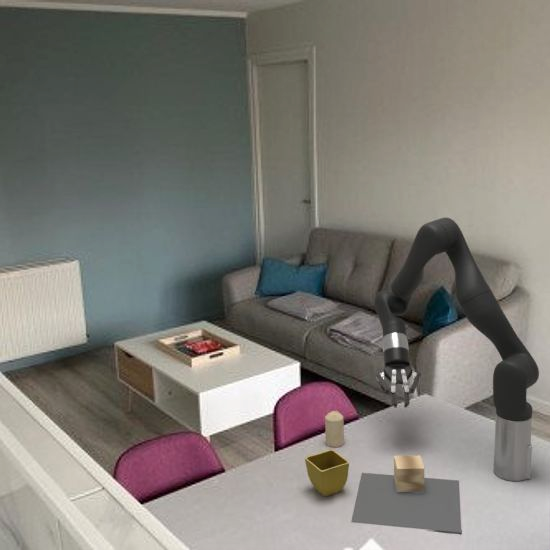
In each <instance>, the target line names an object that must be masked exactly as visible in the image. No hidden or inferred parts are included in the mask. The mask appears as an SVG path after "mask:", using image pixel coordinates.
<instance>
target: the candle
mask: <svg viewBox="0 0 550 550" xmlns="http://www.w3.org/2000/svg"><path fill="white" fill-rule="evenodd" d="M324 420H325V423H324V424H325V426H324V427H325V428H324V429H325V445H326V446H328V447H331V448H339V447H341V446H343V445H344V444H345V430H344V429H345V427H344V424H345V423H344V415H343V414H341V412H339V411H338V410H332V411H330V412H328V413H327V414H326V415H325V417H324Z"/></svg>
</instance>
